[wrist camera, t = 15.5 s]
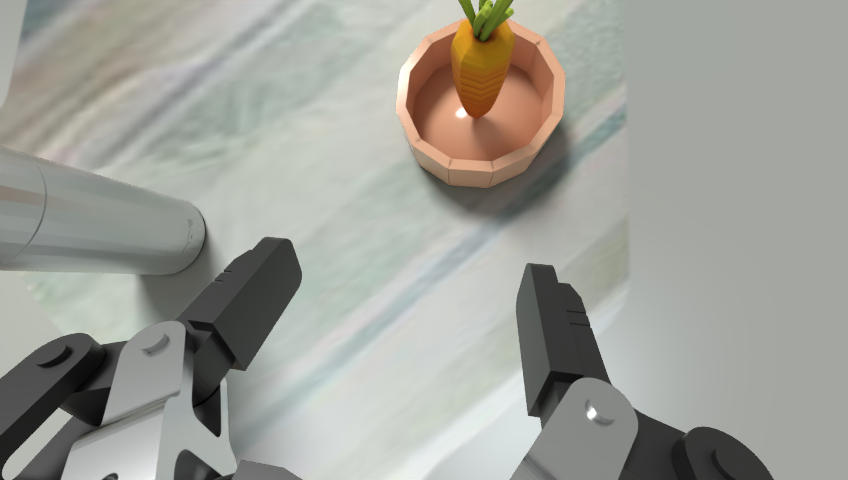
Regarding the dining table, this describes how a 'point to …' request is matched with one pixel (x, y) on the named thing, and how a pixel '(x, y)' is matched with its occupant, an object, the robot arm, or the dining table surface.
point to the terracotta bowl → (489, 134)
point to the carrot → (482, 55)
